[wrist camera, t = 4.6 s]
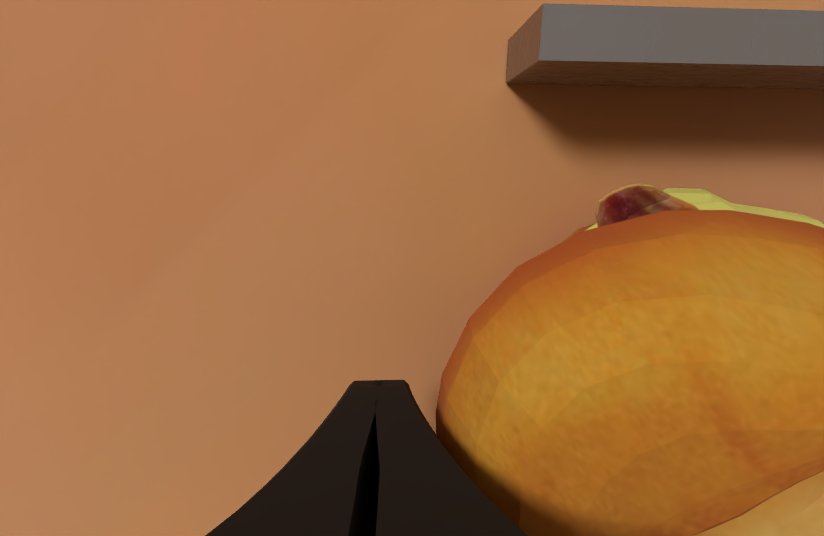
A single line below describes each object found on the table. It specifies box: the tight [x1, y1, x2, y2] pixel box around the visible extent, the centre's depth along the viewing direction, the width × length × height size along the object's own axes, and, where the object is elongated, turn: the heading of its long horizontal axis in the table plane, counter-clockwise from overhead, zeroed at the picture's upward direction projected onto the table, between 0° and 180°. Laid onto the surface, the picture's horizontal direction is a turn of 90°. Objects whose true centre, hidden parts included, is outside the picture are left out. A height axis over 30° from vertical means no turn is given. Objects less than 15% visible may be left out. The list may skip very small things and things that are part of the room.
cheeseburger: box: [436, 183, 824, 536], centre depth 9 cm, size 10×11×10 cm
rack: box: [506, 4, 824, 89], centre depth 11 cm, size 17×14×3 cm
